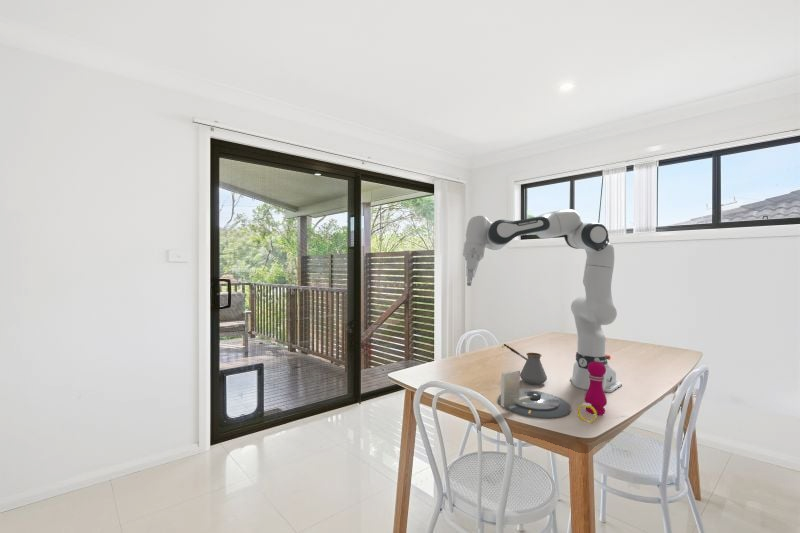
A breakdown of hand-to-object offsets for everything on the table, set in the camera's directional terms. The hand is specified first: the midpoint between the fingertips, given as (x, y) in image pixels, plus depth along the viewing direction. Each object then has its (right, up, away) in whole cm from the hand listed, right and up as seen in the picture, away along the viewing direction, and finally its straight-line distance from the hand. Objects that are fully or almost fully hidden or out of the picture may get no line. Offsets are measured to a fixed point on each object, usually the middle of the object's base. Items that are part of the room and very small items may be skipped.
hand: (468, 284), depth 161 cm
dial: (+18, -44, -18) cm, 51 cm away
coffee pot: (+27, -45, +14) cm, 54 cm away
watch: (+35, -46, -30) cm, 65 cm away
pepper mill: (+42, -46, -22) cm, 66 cm away
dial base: (+22, -45, -16) cm, 53 cm away
